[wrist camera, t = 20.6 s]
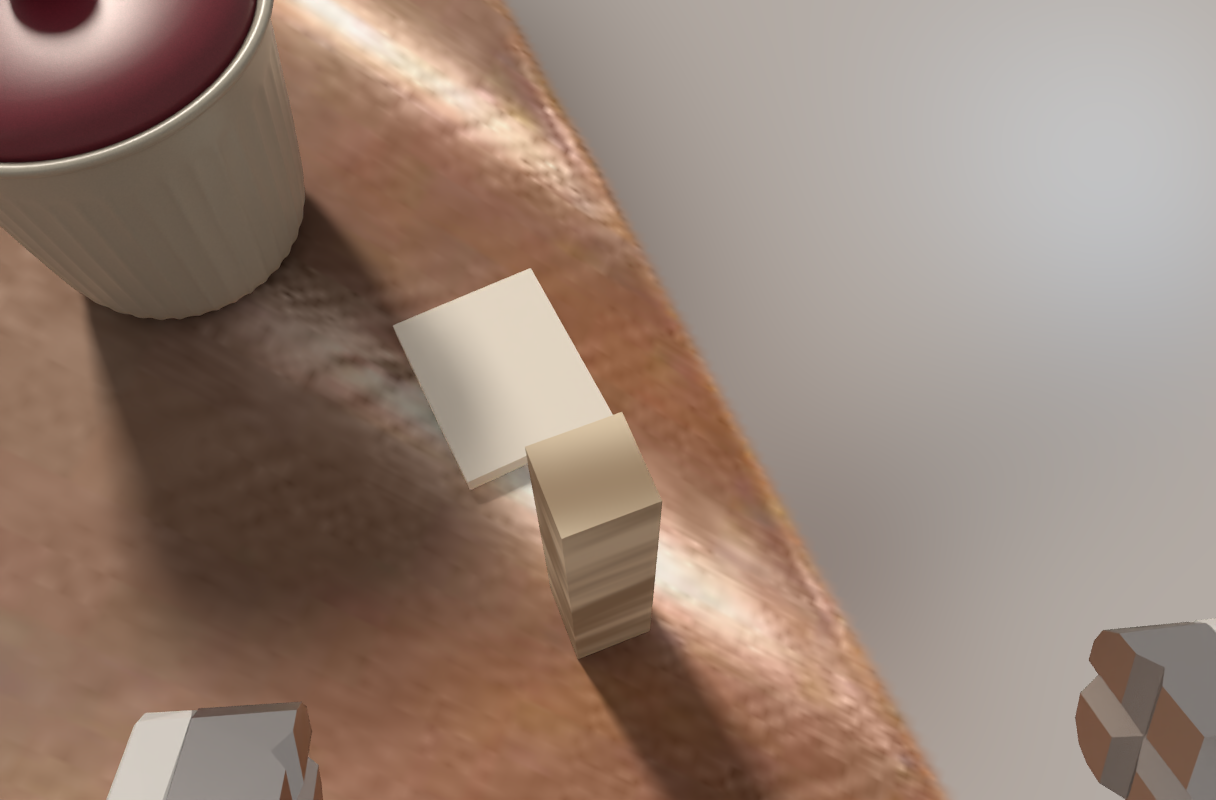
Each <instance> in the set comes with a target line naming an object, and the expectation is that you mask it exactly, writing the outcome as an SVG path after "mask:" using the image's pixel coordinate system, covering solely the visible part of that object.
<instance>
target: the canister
mask: <svg viewBox="0 0 1216 800" xmlns="http://www.w3.org/2000/svg"><path fill="white" fill-rule="evenodd" d="M273 2H274V0H0V226H1V227H2V228H3V229H4V230H5V231H7V232H8V233H9V234H10V235H11V236H12V237H13V238H14V239H16V240H17V241H18V242H19V243H20V244H21V245H22V246H24V247H25V248H26V249H27V250H28V251H29V252H30V253H32V254H33V255H34V256H35V257H36V258H38V259H39V260H40V261H41V262H42V263H43V264H45V265H46V266H47V267H48V268H49V269H51V270H52V271H53V272H54V273H55V274H57V275H58V276H59V277H60V278H61V279H63V280H64V281H65V282H66V283H67V284H69V285H70V286H71V287H73V288H74V289H75V290H77V291H78V292H80V293H82V294H84V295H85V296H87V297H88V298H89V299H91V300H92V301H94V302H95V303H97V304H100V305H102V306H105V307H109V308H111V309H112V310H114V311H116V312H118V313H122V314H131V315H133V316H135V317H138V318H155V319H158V320H165V319H168V318H176V319H183V318H185V317H189V316H201V315H203V314H204V313H206V312H210V311H214V310H220V309H221V308H222V307H224V306H226V305H228V304H231V303H236V302H237V301H238V300H239V299H240V298H242V297H243V296H245V295H247V294H251V293H252V292H253V290H254V289H255V288H257V287H258V286H259V285H261V284H262V283H265V282H266V281H267V279H268V277H269V276H270V275H271V274H272V273H273V272H274V271H276V270H278V269H279V267H280V264H281V262H282V261H283V259H284V258H285V257H287V256H288V255H289V253H290V250H291V246H292V244H293V243H294V242H295V240H296V239H297V236H298V231H299V227H300V225H301V223H302V220H303V207H304V203H305V188H304V177H303V168H302V163H301V157H300V152H299V147H298V141H297V136H296V131H295V125H294V120H293V116H292V111H291V107H290V102H289V97H288V93H287V89H286V84H285V80H284V76H283V71H282V67H281V63H280V58H279V53H278V49H277V44H276V40H275V35H274V31H273V27H272V23H271V19H270V18H271V14H272V8H273Z"/></svg>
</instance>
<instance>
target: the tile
mask: <svg viewBox="0 0 1216 800" xmlns="http://www.w3.org/2000/svg"><path fill="white" fill-rule="evenodd" d="M393 328H394V331H395V333H396V336H397V338H398V340H399V342H400V344H401V347H402V349H403V351H404V353H405V355H406V357H407V359H408V361H409V363H410V366H411V368H412V370H413V372H414V374H415V376H416V378H417V380H418V382H419V384H420V387H421V389H422V391H423V393H424V395H425V397H426V399H427V401H428V403H429V405H430V408H431V410H432V412H433V414H434V416H435V418H436V420H437V422H438V424H439V426H440V429H441V431H442V433H443V435H444V437H445V439H446V441H447V443H448V445H449V447H450V450H451V452H452V454H453V456H454V458H455V460H456V462H457V464H458V466H459V469H460V471H461V473H462V475H463V477H464V479H465V481H466V483H467V485H468V487H469V490H472V489H474V488H476V487H479V486H481V485H483V484H485V483H487V482H490V481H492V480H494V479H496V478H498V477H501V476H503V475H505V474H507V473H509V472H512V471H514V470H516V469H518V468H520V467H523V466H525V465H527V464H528V461H527V456H526V450H525V447H526V446H528V445H531V444H534V443H537V442H539V441H542V440H545V439H548V438H551V437H553V436H556V435H559V434H562V433H565V432H567V431H570V430H573V429H576V428H579V427H581V426H584V425H587V424H590V423H593V422H595V421H598V420H601V419H604V418H606V417H609V416H612V415H613V414H612V412H611V411H610V409H609V407H608V405H607V404H606V402H605V400H604V398H603V396H602V395H601V393H600V391H599V389H598V387H597V386H596V384H595V382H594V380H593V379H592V377H591V375H590V373H589V371H588V370H587V368H586V366H585V364H584V362H583V361H582V359H581V357H580V355H579V354H578V352H577V350H576V348H575V346H574V345H573V343H572V341H571V339H570V337H569V336H568V334H567V332H566V330H565V328H564V327H563V325H562V323H561V321H560V320H559V318H558V316H557V314H556V312H555V311H554V309H553V307H552V305H551V303H550V302H549V300H548V298H547V296H546V295H545V293H544V291H543V289H542V287H541V286H540V284H539V282H538V280H537V278H536V277H535V275H534V273H533V271H532V270H531V268H530V269H527V270H525V271H522V272H520V273H518V274H515V275H513V276H510V277H508V278H506V279H503V280H501V281H498V282H496V283H493V284H491V285H489V286H486V287H484V288H481V289H479V290H477V291H474V292H472V293H469V294H467V295H465V296H462V297H460V298H457V299H455V300H453V301H450V302H448V303H445V304H443V305H441V306H438V307H436V308H433V309H431V310H429V311H426V312H424V313H421V314H419V315H417V316H414V317H412V318H409V319H407V320H405V321H402V322H400V323H397V324H395V325H393Z"/></svg>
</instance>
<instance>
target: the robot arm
mask: <svg viewBox="0 0 1216 800" xmlns="http://www.w3.org/2000/svg"><path fill="white" fill-rule="evenodd" d="M1089 661H1090V662H1091V664H1092V666H1093V667H1094V668H1095V670H1096V672H1097V673H1098V676H1097V677H1096V678H1095V679H1094V680H1093V681H1092V682H1091V683H1090V684H1089V685H1088V686H1087V687H1086V688H1085V689H1084V690H1083V691H1082V692H1081V693H1080V697H1079V702H1078V707H1077V712H1076V717H1075V719H1076V726H1077V733H1078V741H1079V745H1080V747H1081V750H1082V753H1083V755H1084V758H1085V760H1086V763H1087V765H1088V766H1089V768H1090V769H1091V771H1092V772H1093V774H1094V776H1095V777H1096V779H1097V780H1098V782H1099V783H1100V784H1102V785H1103V786H1105V787H1106V788H1108V789H1110V790H1111V791H1113V792H1115V793H1116V794H1118V795H1120V796H1122V797H1123V798H1124V799H1125V800H1216V618H1214V619H1205V620H1196V621H1194V622H1181V623H1171V624H1161V625H1150V626H1140V627H1130V628H1120V629H1110V630H1103V631H1102V632H1101V633H1100V634H1099V636H1098V637H1097V638H1096V639H1095V641H1094V643H1093V646H1092V650H1091V654H1090V657H1089ZM311 735H312V729H311V724H310V720H309V715H308V711H307V706H306V705H305V704H303V703H302V702H292V703H277V704H261V705H246V706H231V707H216V708H201V709H198V710H189V711H172V712H156V713H145V714H144V715H143V716H142V717H141V718H140V719H139V721H138V722H137V723H136V724H135V725H134V727H133V730H132V733H131V735H130V738H129V741H128V743H127V746H126V749H125V751H124V754H123V757H122V759H121V762H120V765H119V767H118V770H117V773H116V775H115V778H114V781H113V783H112V786H111V789H110V792H109V794H108V797H107V800H323V795H322V783H321V777H320V772H319V766H318V764H316V763H315V762H314V761H313V760H311V759H310V758H309V757H308V754H309V747H310V741H311Z"/></svg>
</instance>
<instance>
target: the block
mask: <svg viewBox="0 0 1216 800" xmlns="http://www.w3.org/2000/svg"><path fill="white" fill-rule="evenodd" d="M525 450H526V456H527V461H528V467H529V472H530V478H531V483H532V489H533V494H534V500H535V505H536V511H537V516H538V522H539V527H540V533H541V538H542V544H543V549H544V555H545V560H546V566H547V571H548V577H549V582H550V588H551V591H552V594H553V596H554V599H555V601H556V604H557V607H558V609H559V612H560V614H561V617H562V620H563V622H564V625H565V627H566V630H567V633H568V635H569V638H570V640H571V643H572V646H573V648H574V651H575V653H576V656H577V659H580V658H582V657H585V656H587V655H590V654H592V653H595V652H598V651H600V650H603V649H605V648H608V647H610V646H613V645H615V644H618V643H620V642H623V641H625V640H628V639H630V638H633V637H635V636H638V635H640V634H643V633H646V632H648V631H650V625H651V614H652V604H653V593H654V582H655V572H656V561H657V551H658V540H659V530H660V519H661V509H662V499H661V497H660V495H659V493H658V491H657V488H656V486H655V484H654V482H653V479H652V477H651V475H650V473H649V471H648V468H647V466H646V464H645V462H644V460H643V457H642V455H641V453H640V451H639V448H638V446H637V444H636V442H635V440H634V437H633V435H632V433H631V431H630V429H629V426H628V424H627V422H626V420H625V417H624V415H623V413H622V412H620V413H618V414H615V415H612V416H609V417H606V418H604V419H601V420H598V421H595V422H593V423H590V424H587V425H584V426H581V427H579V428H576V429H573V430H570V431H567V432H565V433H562V434H559V435H556V436H553V437H551V438H548V439H545V440H542V441H539V442H537V443H534V444H531V445H528V446H526V447H525Z"/></svg>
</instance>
